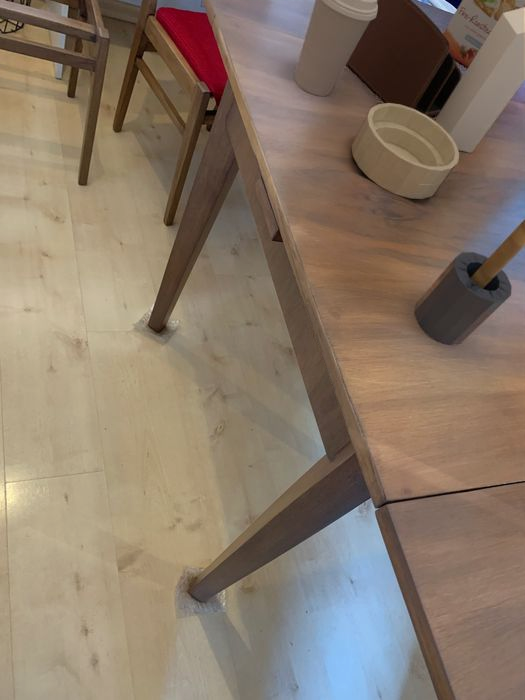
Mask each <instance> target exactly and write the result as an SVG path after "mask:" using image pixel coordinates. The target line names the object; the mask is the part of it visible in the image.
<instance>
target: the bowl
mask: <svg viewBox="0 0 525 700" xmlns="http://www.w3.org/2000/svg"><path fill="white" fill-rule="evenodd" d="M459 151H460V150H458V148H457V145H456V143H455V142H454V140H453V139H452V137H451V136H450V135H449V133H447V132H446V131H445V130H444V129H443V128H442V127H441V126H440V125H439V124H438V123H437V122H435V119H432V118H431V116H430V117H428V116H427V115H425V114H423V113H421V112H419V111H417V110H415V109H413V108H410V107H407V106H404V105H400V104H393V103H385V102H383V103H379V104H375V105H374V106H372V107H371V108H370V109H369V111H368V113H367V114H366V116H365V119H364V120H363V123H362V124H361V126H360V128H359V130H358V131H357V134H356V136H355V138H354V139H353V142H352V144H351V152H352V153H351V154H352V157H353V159H354V160H355V163H356V164H357V167H358V168H359V169H360V170H361V172H363V174H364V175H365V176H366V177H367V178H368V179H369V180H371V181H372V182H373V183H375V184H377V185H378V186H379V187H380V188H382V189H384V190H386V191H388V192H390V193H392V194H394V195H397V196H401V197H404V198H407V199H415V200H417V199H418V200H419V199H420V200H423V199H426V198H427V199H428V198H430V197H433V196H434V195H435V194H436V193H437V192H438V191H439V190H440V188H441V187H442V185H443V184H444V183H445V181H446V180H447V179H448V177H449V175H450V174H451V173H452V172H453V170H454V169H455V167H456V166H457V165H458V163H459V159H460V152H459Z"/></svg>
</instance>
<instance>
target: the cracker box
mask: <svg viewBox="0 0 525 700" xmlns="http://www.w3.org/2000/svg"><path fill="white" fill-rule="evenodd" d="M523 7H525V0H461V2H460V3H459V5H458V7H457V9H456V10H455V12H454V14H453V15H452V17H451V19H450V21H449V23H448V24H447V26H446V28H445V30H444V31H443V32H442V33H443V35H444V36H445V37H446V38H447V40H448V41H449V44H450V49H449V52H450V53H451V55H452V56H453V58H454V59H455V61H458V62H459V63H460V64H462V65H463V66H465V67H466V68H468V67H469V66H470V64H471V63H472V61H473V60H474V58H475V56H476V55H477V53H478V52H479V50H480V49H481V47H482V45H483V44H484V42H485V41H486V39H487V38H488V36H489V34H490V33H491V31H492V30H493V28H494V26H495V25H496V23H497V22H498V20H499V19H500V17H501V15H502V14H503V13H505V12H509V11H512V10H516V9H520V8H523Z"/></svg>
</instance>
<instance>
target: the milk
mask: <svg viewBox="0 0 525 700" xmlns="http://www.w3.org/2000/svg"><path fill="white" fill-rule="evenodd" d="M524 83H525V7H523V8H520V9H516V10H512V11H509V12H505V13H503V14H502V15H501V17H500V19H499V20H498V22H497V23H496V25H495V26H494V28H493V30H492V31H491V33H490V34H489V36H488V38H487V39H486V41H485V42H484V44H483V45H482V47H481V49H480V50H479V52H478V53H477V55H476V56H475V58H474V60H473V61H472V63H471V64H470V66H469V67H467V69H466V71H465V72H464V74H462V78H461V80H460V82H459V83H458V85H457V86H456V88H455V90H454V91H453V93H452V94H451V96H450V97H449V99H448V101H447V102H446V104H445V105H444V107H443V108H442V110H441V112H440V113H439V115H436V118H435V119H434V121H435V122H437V123H438V124H439V125H440V126H441V127H442V128H443V129H444V130H445V131H446V132H447V133H449V135H450V136H451V137H452V139H453V140H454V142H455V143H456V145H457V148H458V151H460V152H464V153H469V154H472V153H473V152H474V150H475V149H476V147H477V146H478V145H479V143H480V142H481V141H482V139H483V138H484V136H486V134H487V133H488V131H489V130H490V128H491V127H492V126H493V125H494V123H495V121H496V120H497V119H498V117H499V116H500V115H501V114H502V112H503V111H504V109H505V108H506V107H507V105H508V104H509V102H510V101H511V99H513V97H514V96H515V94H516V93H517V92H518V90H519V89H520V87H521V86H522V85H523V84H524Z"/></svg>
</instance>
